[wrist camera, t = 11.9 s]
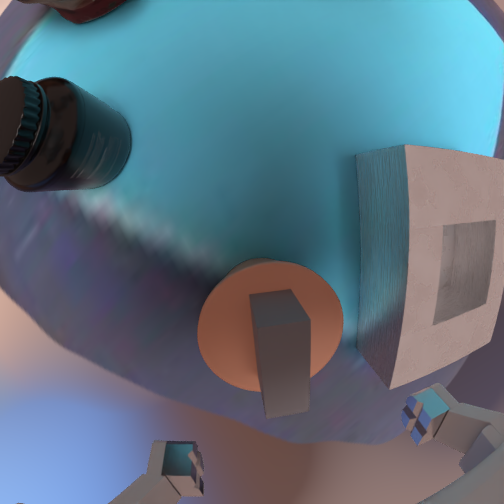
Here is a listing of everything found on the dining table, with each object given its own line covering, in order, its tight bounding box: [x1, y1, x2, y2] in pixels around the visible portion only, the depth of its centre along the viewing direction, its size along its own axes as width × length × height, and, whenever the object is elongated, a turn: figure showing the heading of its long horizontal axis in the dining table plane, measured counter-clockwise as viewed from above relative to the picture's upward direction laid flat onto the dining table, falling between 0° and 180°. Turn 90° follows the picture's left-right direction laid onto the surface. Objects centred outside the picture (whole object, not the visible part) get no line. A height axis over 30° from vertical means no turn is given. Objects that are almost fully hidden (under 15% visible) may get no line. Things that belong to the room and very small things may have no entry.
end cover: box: [197, 258, 343, 419], centre depth 17 cm, size 9×9×10 cm
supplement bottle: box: [0, 76, 130, 192], centre depth 12 cm, size 7×7×12 cm
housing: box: [355, 144, 504, 390], centre depth 20 cm, size 18×14×7 cm
